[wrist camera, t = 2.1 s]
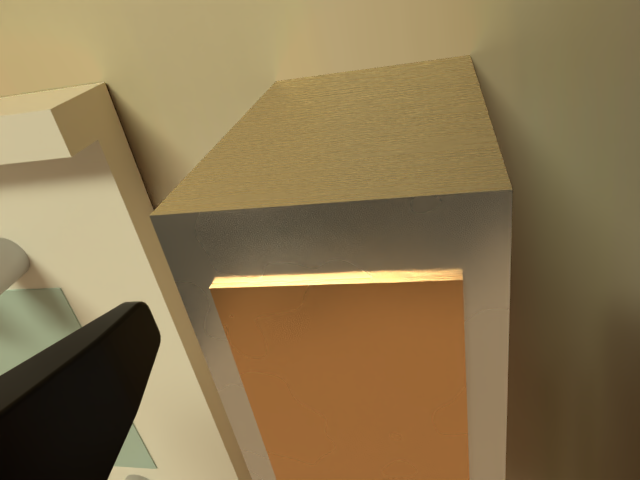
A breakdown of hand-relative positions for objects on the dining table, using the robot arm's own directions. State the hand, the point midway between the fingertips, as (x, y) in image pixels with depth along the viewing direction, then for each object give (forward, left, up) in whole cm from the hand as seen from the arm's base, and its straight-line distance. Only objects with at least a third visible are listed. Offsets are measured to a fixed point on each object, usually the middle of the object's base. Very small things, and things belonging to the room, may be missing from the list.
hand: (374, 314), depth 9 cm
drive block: (0, 0, -4) cm, 4 cm away
